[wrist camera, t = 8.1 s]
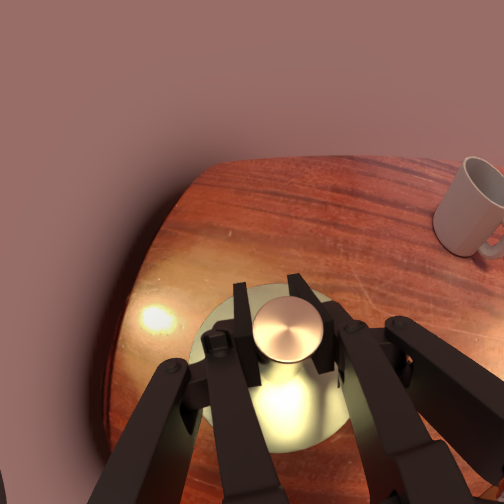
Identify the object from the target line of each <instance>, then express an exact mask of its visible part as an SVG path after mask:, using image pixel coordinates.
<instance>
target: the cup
mask: <svg viewBox="0 0 504 504" xmlns="http://www.w3.org/2000/svg"><path fill="white" fill-rule="evenodd" d="M500 224H502V226H503V227H504V176H503V175H502V174H501V173H500V172H499V171H498V170H497V169H496V168H495V167H494V166H492V165H491V164H490V163H488V162H486V161H485V160H483V159H480V158H477V157H473V156H470V157H467V158H465V159H464V161H463V163H462V165H461V167H460V169H459V171H458V173H457V174H456V176H455V178H454V180H453V182H452V184H451V185H450V187H449V189H448V191H447V192H446V194H445V196H444V198H443V199H442V201H441V203H440V204H439V206H438V208H437V210H436V212H435V214H434V216H433V225H434V230H435V233H436V235H437V237H438V239H439V240H440V242H441V243H442V244H443V245H444V246H445V248H446V249H448V250H449V251H450V252H452V253H454V254H456V255H458V256H471V255H473V254H474V253H475V252H476V251H478V252H479V254H480V255H481V256H483V257H484V258H486V259H489V260H494V259H499V258H501V257H503V256H504V235H503V237H502V239H501V240H500V241H499V242H498V243H497V244H496V245H494V246H490V245H489V244H488V243H487V242H486V241H487V239H488V238H489V237H490V236H491V235H492V234H493V232H494V231H495V230H496V229H497V228H498V226H499V225H500Z"/></svg>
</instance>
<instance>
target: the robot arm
mask: <svg viewBox="0 0 504 504" xmlns="http://www.w3.org/2000/svg"><path fill="white" fill-rule="evenodd" d="M287 279H288V288H289V296H293V297H298V298H301V299H303V300H306V301H307V302H309V303H310V304H312V305H313V306H314V307H315V308H316V310H317V311H318V312H319V314H320V316H321V318H322V321H323V326H324V334H323V339H322V342H321V344H320V346H319V348H318V349H317V351H316V352H315V353H314V355H313V356H312V357H311V359H312V361H313V363H314V366H315V368H316V370H317V372H318V374H324V373H328V372H332V371H335V363H336V365H337V366H338V384H337V388H340V385H341V389H342V392H343V395H344V399H345V402H346V406H347V409H348V412H349V416H350V420H351V423H352V427H353V430H354V434H355V438H356V441H357V445H358V449H359V453H360V456H361V460H362V464H363V468H364V472H365V476H366V480H367V485H368V489H369V493H370V504H504V381H502V380H501V379H499V378H498V377H497V376H495V375H494V374H492V373H491V372H489V371H488V370H487V369H485V368H484V367H482V366H481V365H479V364H478V363H476V362H475V361H473V360H472V359H470V358H469V357H467V356H466V355H465V354H463V353H462V352H460V351H459V350H457V349H456V348H454V347H453V346H451V345H450V344H448V343H447V342H445V341H444V340H442V339H441V338H439V337H437V336H436V335H434V334H433V333H431V332H430V331H428V330H427V329H425V328H424V327H422V326H421V325H419V324H418V323H416V322H414V321H413V320H411V319H410V318H407V317H404V316H394V317H390V318H388V319H387V320H386V321H385V328H369V327H368V326H367V324H366V323H365V322H363V321H360V320H353V319H352V317H351V316H350V315H349V314H348V313H347V312H346V311H345V309H344V308H343V307H342V306H341V305H340V304H339V303H337V302H335V301H333V300H331V301H326V302H321V301H320V300H319V299H318V298H317V296H316V295H315V294H314V292H313V291H312V290H311V288H310V287H309V286H308V284H307V283H306V282H305V280H304V279H303V278H302V276H301V275H300V274H299V273H297V274H291V275H287ZM233 300H234V319H227V320H220V321H217V322H216V323H215V324H214V325H213V327H212V329H210V330H208V331H206V332H204V333H203V334H202V335H201V338H200V339H201V343H202V347H203V350H204V354H205V358H204V359H203V360H201V361H199V362H196V363H193V364H189V365H188V363H187V361H186V360H184V359H182V358H171V359H168V360H165V361H164V362H162V363H161V364H160V365H159V366H158V367H157V369H156V371H155V373H154V374H153V376H152V378H151V380H150V382H149V384H148V386H147V387H146V389H145V391H144V393H143V395H142V397H141V399H140V400H139V402H138V404H137V406H136V408H135V410H134V412H133V414H132V415H131V417H130V419H129V421H128V423H127V425H126V427H125V429H124V431H123V433H122V435H121V437H120V438H119V440H118V442H117V444H116V446H115V448H114V450H113V452H112V454H111V456H110V458H109V460H108V462H107V464H106V466H105V468H104V470H103V472H102V474H101V476H100V478H99V480H98V482H97V484H96V486H95V488H94V490H93V493H92V494H91V496H90V499H89V501H88V503H87V504H180V501H181V497H182V493H183V489H184V485H185V481H186V477H187V473H188V469H189V465H190V461H191V457H192V453H193V449H194V445H195V441H196V438H197V434H198V430H199V426H200V422H201V418H202V414H203V408H205V407H208V406H210V407H211V415H212V422H213V429H214V436H215V443H216V450H217V456H218V462H219V469H220V474H221V480H222V486H223V491H224V499H223V500H222V504H290V503H289V501H288V498H287V496H286V493H285V491H284V489H283V487H282V486H281V484H280V482H279V479H278V476H277V473H276V471H275V468H274V465H273V462H272V459H271V457H270V454H269V451H268V448H267V445H266V442H265V439H264V436H263V433H262V430H261V427H260V424H259V421H258V418H257V415H256V412H255V409H254V406H253V403H252V400H251V396H250V393H249V390H248V388H250V387H257V386H262V383H261V376H260V370H259V363H258V358H257V353H256V349H255V345H254V341H253V336H252V318H251V312H250V306H249V300H248V294H247V288H246V282H242V283H236V284H233ZM409 356H410V357H411V358H412V360H413V362H412V363H411V362H410V361H409V360H408V357H409ZM417 411H418V412H419V413H420V414H421V415H422V416H423V417H424V419H425V420H426V421H427V422H428V423H429V424H430V425H431V426H432V427H433V428H434V429H435V430H436V431H437V432H438V433H439V434H440V435H441V436H442V437H443V438H444V439H445V440H446V441H447V442H448V443H449V444H450V445H451V447H452V448H453V449H454V450H455V451H456V452H457V453H458V454H459V455H460V456H461V457H462V458H463V459H464V460H465V461H466V462H467V463H468V464H469V465H470V466H471V467H472V468H473V469H474V471H475V472H477V473H478V474H479V475H480V476H481V477H482V478H483V479H485V480H486V481H488V482H489V483H491V484H492V485H494V486H496V487H498V489H499V490H498V491H497V493H496V500H497V501H494V500H488V499H483V498H478V497H474V496H472V494H471V492H470V490H469V488H468V486H467V484H466V481H465V479H464V477H463V475H462V473H461V471H460V469H459V467H458V465H457V463H456V461H455V459H454V457H453V455H452V453H451V451H450V449H449V447H448V446H447V444H446V443H445V442H444V441H443V440H441V439H440V440H435V441H434V440H432V438H431V437H430V435H429V433H428V431H427V429H426V427H425V425H424V423H423V421H422V420H421V418H420V416H419V414H418V412H417Z"/></svg>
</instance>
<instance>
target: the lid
mask: <svg viewBox="0 0 504 504" xmlns="http://www.w3.org/2000/svg"><path fill="white" fill-rule="evenodd" d="M311 290H312V291H313V292H314V294H315V295H316V296H317V298H318V299H319V300H320V301H321V302H326V301H331V300H332V299H330V298H329V297H327V296H325V295H324V294H322V293H320V292H318V291H315V290H313V289H311ZM247 294H248V300H249V306H250V312H251V318H252V336H253V341H254V345H255V349H256V353H257V358H258V363H259V370H260V376H261V383H262V386H257V387H250V388H248V390H249V393H250V396H251V400H252V403H253V406H254V409H255V412H256V415H257V418H258V421H259V424H260V427H261V430H262V433H263V436H264V439H265V442H266V445H267V448H268V451H269V453H288V452H294V451H299V450H303V449H306V448H309V447H311V446H314V445H316V444H318V443H320V442H322V441H324V440H326V439H327V438H329V437H330V436H331V435H333V434H334V433H336V432H337V431H338V430H339V429H340V428H341V427H342V426H343V425H344V424H345V423H346V422H347V421H348V419H349V418H350V416H349V412H348V409H347V406H346V402H345V399H344V395H343V392H342V389H341V385H340V388H337V384H338V366H337V365H336V363H335V371H332V372H328V373H324V374H318V372H317V370H316V368H315V366H314V363H313V361H312V359H311V357H312V356H313V355H314V353H315V352H316V351H317V349H318V348H319V346H320V344H321V342H322V339H323V334H324V326H323V321H322V318H321V316H320V314H319V312H318V311H317V310H316V308H315V307H314V306H313V305H312V304H310V303H309V302H307V301H306V300H303V299H301V298H298V297H293V296H289V288H288V284H285V283H274V284H264V285H259V286H255V287H252V288H248V289H247ZM227 319H234V300H233V296H231V297H230V298H228V299H227V300H225V301H224V302H223V303H221V304H220V305H219V306H218V307H217V308H216V309H214V310H213V311H212V312H211V313H210V315H209V316H208V317H207V318H206V320H205V321H204V322H203V324H202V326H201V327H200V329H199V330H198V332H197V335H196V337H195V339H194V342H193V345H192V348H191V352H190V358H189V364H193V363H196V362H199V361H201V360H203V359H204V358H205V354H204V350H203V347H202V343H201V339H200V338H201V335H202V334H203V333H204V332H206V331H208V330H210V329H212V327H213V325H214V324H215V323H216V322H217V321H220V320H227ZM202 415H203V416H204V418H205V419H206V420H207V421H208V422H209V424H210V425H211V426H212V427H213V422H212V415H211V407H210V406H208V407H205V408H203V414H202Z"/></svg>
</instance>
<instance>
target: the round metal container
mask: <svg viewBox="0 0 504 504" xmlns="http://www.w3.org/2000/svg"><path fill="white" fill-rule="evenodd" d="M498 490H499V489H498V487H496V486H493V487H491V488H490V489H488V490H487V491H486V492H485V493H484V494H483V495H481V496H480V497H479V498H483V499H488V500H494V501H497V500H496V493H497V491H498Z"/></svg>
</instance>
